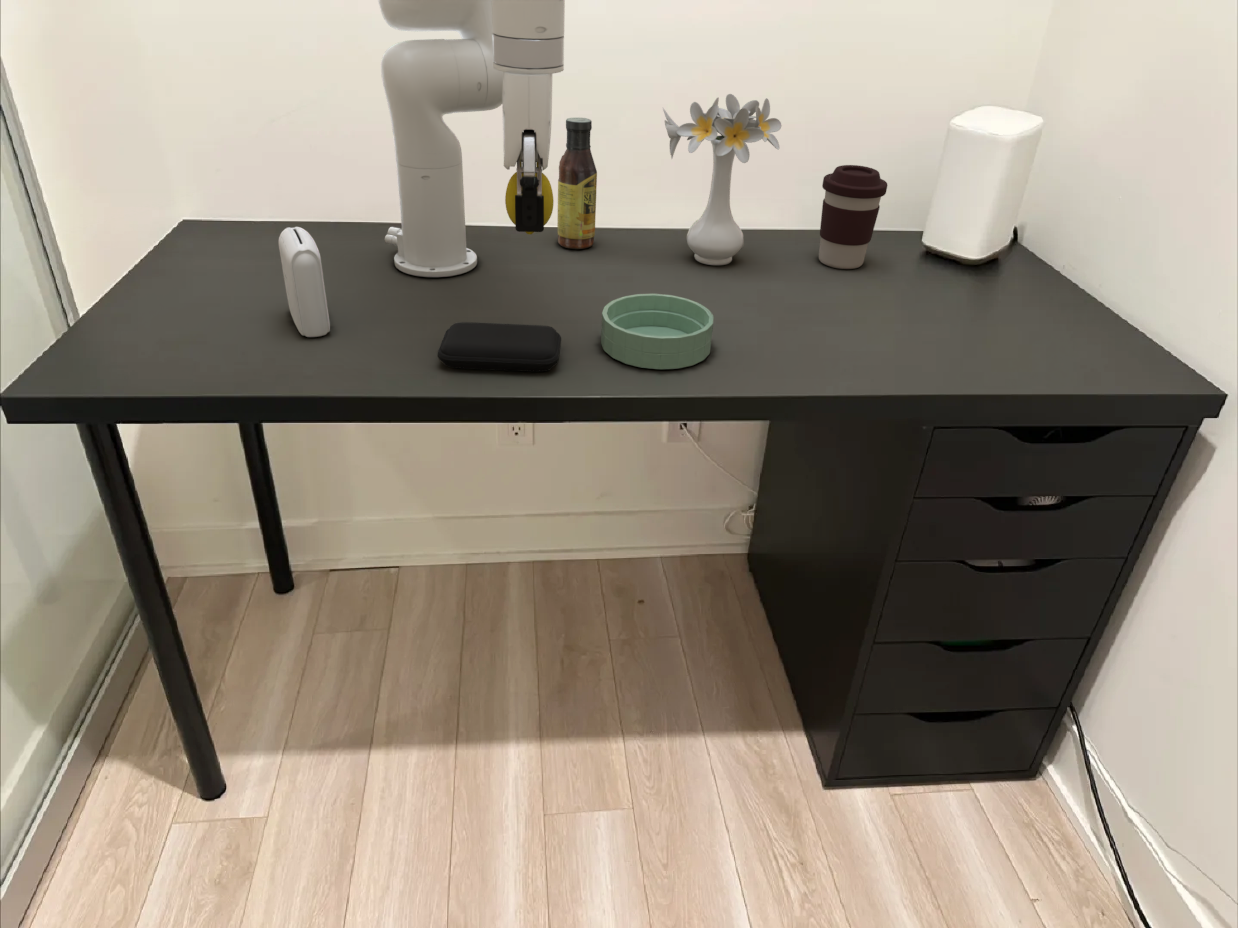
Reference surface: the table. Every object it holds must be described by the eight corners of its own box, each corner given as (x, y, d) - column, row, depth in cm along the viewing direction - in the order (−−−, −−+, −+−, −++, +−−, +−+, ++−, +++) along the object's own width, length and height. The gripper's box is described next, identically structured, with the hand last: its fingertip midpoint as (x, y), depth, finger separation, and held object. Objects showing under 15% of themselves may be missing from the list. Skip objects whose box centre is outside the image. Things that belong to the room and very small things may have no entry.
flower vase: (645, 248, 149) (655, 88, 135) (750, 245, 152) (770, 89, 139) (664, 276, 138) (677, 106, 124) (776, 272, 141) (800, 106, 128)
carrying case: (562, 340, 117) (449, 335, 116) (562, 318, 115) (448, 313, 115) (557, 377, 108) (435, 372, 107) (557, 354, 106) (433, 348, 106)
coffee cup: (879, 260, 149) (898, 169, 140) (858, 277, 141) (877, 182, 133) (823, 248, 153) (838, 158, 145) (800, 263, 146) (815, 170, 138)
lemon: (517, 244, 102) (516, 173, 97) (499, 229, 106) (497, 160, 101) (560, 239, 104) (561, 169, 100) (541, 224, 108) (541, 157, 104)
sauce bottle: (589, 252, 145) (593, 125, 135) (552, 248, 146) (553, 122, 136) (598, 240, 151) (602, 117, 140) (562, 236, 152) (564, 113, 141)
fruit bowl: (582, 354, 113) (583, 322, 111) (629, 316, 124) (630, 286, 122) (685, 380, 108) (689, 347, 106) (725, 338, 119) (728, 307, 117)
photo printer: (287, 310, 120) (272, 220, 114) (319, 306, 122) (306, 217, 115) (299, 340, 113) (284, 245, 106) (334, 336, 114) (321, 242, 108)
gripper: (495, 40, 101) (499, 199, 111) (490, 66, 87) (495, 246, 96) (561, 43, 102) (559, 201, 111) (567, 68, 87) (564, 247, 97)
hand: (529, 220), depth 104 cm, fingers closed on lemon, 5 cm apart
